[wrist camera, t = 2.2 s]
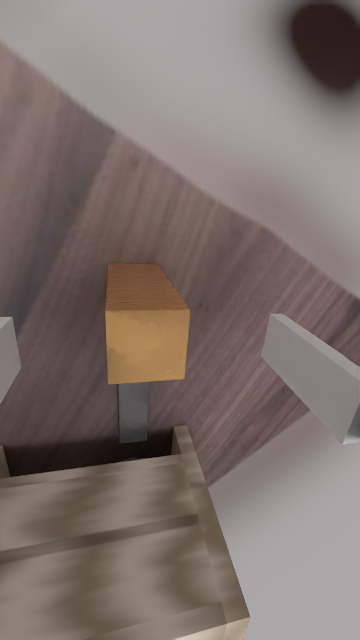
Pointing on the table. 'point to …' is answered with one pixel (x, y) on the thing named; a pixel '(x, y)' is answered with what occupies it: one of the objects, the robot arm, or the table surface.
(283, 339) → the robot arm
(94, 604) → the wooden shelf
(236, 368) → the table surface
